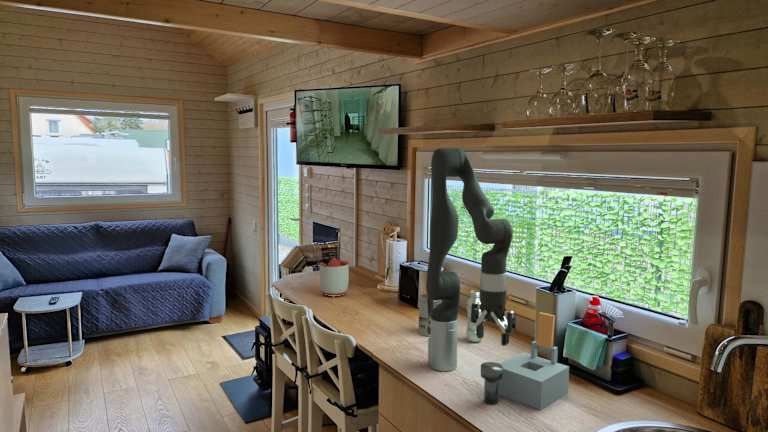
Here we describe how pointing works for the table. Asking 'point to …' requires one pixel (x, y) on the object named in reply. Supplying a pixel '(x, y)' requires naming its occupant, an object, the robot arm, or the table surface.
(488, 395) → the pin
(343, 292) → the pale green pot
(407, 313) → the table surface
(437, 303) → the coffee box
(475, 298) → the plastic bottle
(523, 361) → the block
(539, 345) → the tan flat wooden board
